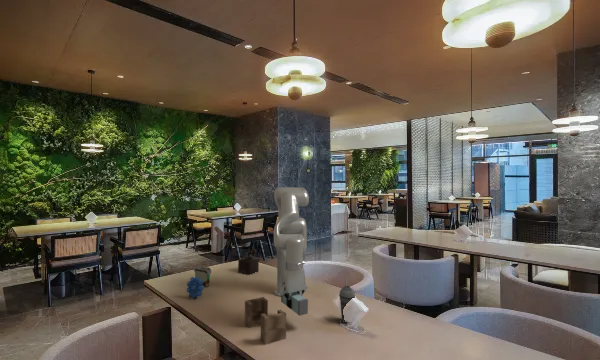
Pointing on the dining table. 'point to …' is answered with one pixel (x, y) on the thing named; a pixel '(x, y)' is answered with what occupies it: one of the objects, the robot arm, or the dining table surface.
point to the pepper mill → (248, 264)
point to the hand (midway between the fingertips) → (293, 305)
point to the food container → (203, 275)
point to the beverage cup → (345, 297)
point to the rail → (297, 303)
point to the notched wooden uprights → (265, 320)
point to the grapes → (195, 287)
